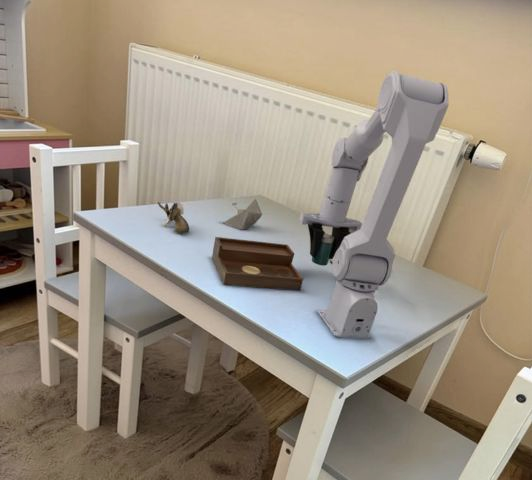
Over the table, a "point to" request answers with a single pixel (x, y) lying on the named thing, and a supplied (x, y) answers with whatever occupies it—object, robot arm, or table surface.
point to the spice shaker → (324, 250)
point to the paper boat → (245, 216)
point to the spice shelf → (255, 264)
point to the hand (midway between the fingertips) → (321, 256)
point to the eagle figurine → (176, 217)
